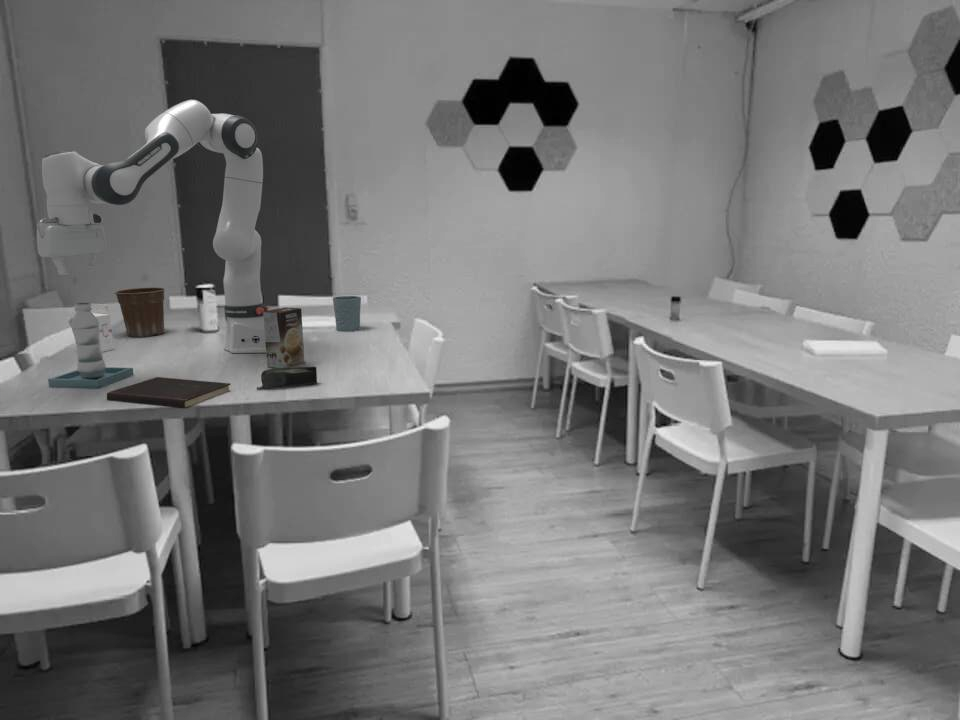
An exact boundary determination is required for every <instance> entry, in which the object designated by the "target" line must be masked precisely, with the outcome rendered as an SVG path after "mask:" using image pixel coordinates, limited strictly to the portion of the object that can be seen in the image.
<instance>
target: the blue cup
mask: <svg viewBox="0 0 960 720" xmlns="http://www.w3.org/2000/svg"><path fill="white" fill-rule="evenodd" d="M361 301H362V297H361V296H360V295H359V296H357V295H341V296H340V295H339V296H335V297H334V296H333V297H332V302H333V303H332V304H333V309H334V310H333V311H334V319H335V329H336V332H341V333H342V332H343V333H345V332H346V333H347V332H348V333H349V332H357V331H359V330H361V304H362V303H361Z"/></svg>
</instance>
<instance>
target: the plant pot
mask: <svg viewBox="0 0 960 720" xmlns="http://www.w3.org/2000/svg"><path fill="white" fill-rule="evenodd" d="M165 291H166V289H165V287H138V288H130V289H129V288H128V289H122V290H121V289H120V290H117V291H115V292H114V294H115V296H116V298H117V302H118V304H119V307H120V311H121V313H122V318H123V322H124V325H125V331H126V334H127V336H128V337H132V338H147V337H153V336H158V335H162V334H164V333H165V318H164V317H165V314H164V311H165V310H164V309H165V307H164V301H165Z"/></svg>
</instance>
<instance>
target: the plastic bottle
mask: <svg viewBox="0 0 960 720" xmlns="http://www.w3.org/2000/svg"><path fill="white" fill-rule="evenodd" d="M91 304H92V303H91V302H78V303H74V312H75V314H74V315H73V317H72V319H71V322H70V327H71V331H72V333H73V337H74V340H75V341H74V342H75V345H76V351H77V370H78V373H79V376H80V377H81V378H84V379H96V378H99V377H102V376H104V375H105V373H106V367H107V366H106V363H105V360H104V357H103V352H101V348H100V343H99V342H100V339H99V321H98V319H97V318H96V317H95V316H94V315H93V314H92V313H93V312H92V307H91Z"/></svg>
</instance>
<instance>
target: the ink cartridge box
mask: <svg viewBox="0 0 960 720" xmlns="http://www.w3.org/2000/svg"><path fill="white" fill-rule="evenodd" d="M90 304H91V308H92V310H91V313H92V314H93V315H94V316H95V317H96V318H97V319H98V321H99V339H100V342H99V343H100V348H101V353H104V352H108V351H113V350H115V344H114V343H115V342H114V338H113V337H114V335H113V328H112V321H111V314H110V311H109V306H108V305H107V304H102V303H101V304H100V303H90ZM99 308H100V309H99Z"/></svg>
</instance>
